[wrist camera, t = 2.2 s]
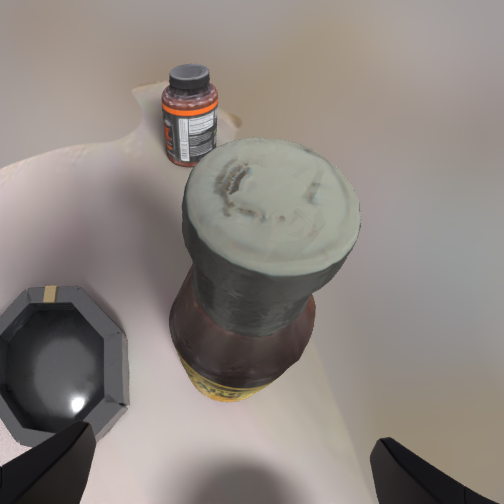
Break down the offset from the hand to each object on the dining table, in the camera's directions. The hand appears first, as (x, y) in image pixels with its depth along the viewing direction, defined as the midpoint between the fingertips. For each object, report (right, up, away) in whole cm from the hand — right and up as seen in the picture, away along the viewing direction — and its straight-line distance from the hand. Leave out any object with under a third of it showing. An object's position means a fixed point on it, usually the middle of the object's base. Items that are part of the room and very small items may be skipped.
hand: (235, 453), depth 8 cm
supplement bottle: (-7, +18, +28) cm, 34 cm away
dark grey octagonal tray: (-16, -4, +13) cm, 21 cm away
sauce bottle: (-1, -3, +16) cm, 16 cm away
